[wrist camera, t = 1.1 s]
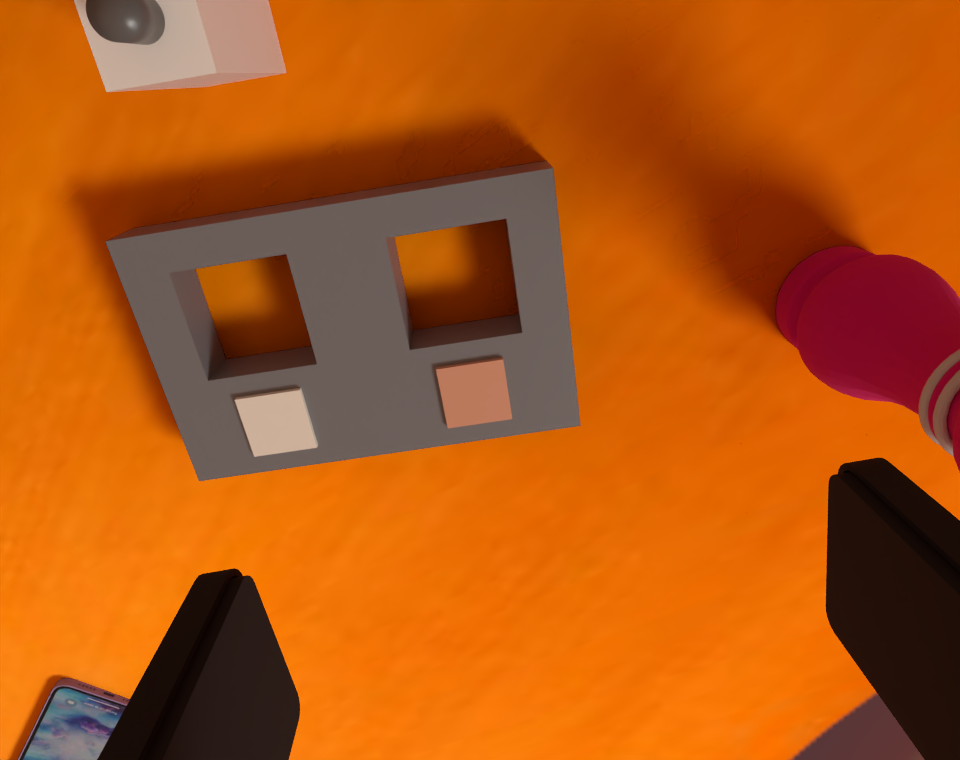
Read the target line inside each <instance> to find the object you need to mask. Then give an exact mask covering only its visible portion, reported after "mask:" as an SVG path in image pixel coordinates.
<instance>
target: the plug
mask: <svg viewBox="0 0 960 760" xmlns="http://www.w3.org/2000/svg"><path fill="white" fill-rule="evenodd" d="M74 2H75V5H76V8H77V11H78V13H79V16H80V19H81V22H82V25H83V27H84V30H85V33H86V36H87V39H88V41H89V44H90V47H91V50H92V53H93V55H94V58H95V61H96V64H97V66H98V69H99V72H100V75H101V78H102V80H103V83H104V86H105V89H106V92H116V91H136V90H156V89H175V88H195V87H209V86H215V85H220V84H226V83H232V82H238V81H243V80H249V79H255V78H261V77H266V76H272V75H278V74H284V73H286V69H285V65H284V61H283V57H282V53H281V49H280V45H279V41H278V37H277V33H276V29H275V25H274V21H273V17H272V13H271V9H270V5H269V1H268V0H74Z"/></svg>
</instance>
